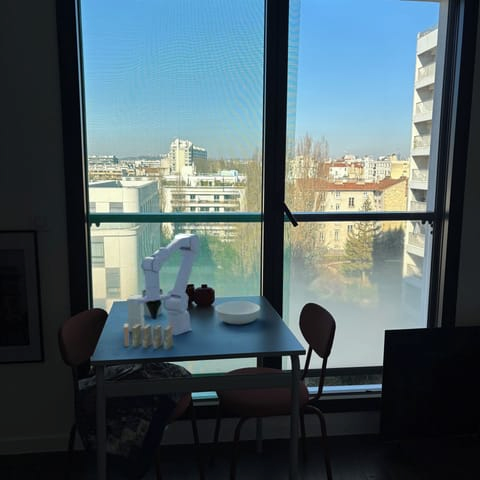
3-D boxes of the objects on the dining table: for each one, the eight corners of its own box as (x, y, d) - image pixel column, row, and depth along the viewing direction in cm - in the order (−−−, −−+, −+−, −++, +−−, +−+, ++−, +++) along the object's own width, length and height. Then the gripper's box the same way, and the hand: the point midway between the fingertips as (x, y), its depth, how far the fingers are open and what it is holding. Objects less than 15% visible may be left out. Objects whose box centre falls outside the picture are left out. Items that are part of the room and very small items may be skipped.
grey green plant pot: (139, 314, 231) (138, 290, 229) (156, 309, 238) (155, 287, 236) (150, 318, 224) (149, 294, 222) (167, 313, 231) (166, 290, 229)
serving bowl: (219, 330, 204) (219, 315, 203) (212, 316, 224) (212, 303, 224) (265, 326, 208) (265, 311, 207) (254, 313, 229) (254, 300, 228)
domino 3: (162, 344, 188) (161, 325, 187) (157, 348, 184) (156, 329, 183) (158, 344, 189) (157, 325, 188) (153, 348, 184) (152, 329, 183)
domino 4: (172, 344, 187) (171, 325, 186) (168, 349, 183) (167, 329, 182) (168, 344, 188) (168, 325, 187) (164, 349, 183) (163, 329, 182)
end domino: (129, 341, 192) (128, 323, 191) (128, 346, 187) (127, 327, 186) (125, 342, 191) (124, 323, 190) (124, 346, 187) (123, 327, 186)
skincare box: (141, 331, 204) (140, 298, 202) (128, 332, 204) (126, 299, 202) (144, 325, 213) (143, 294, 211) (131, 326, 212) (130, 294, 210)
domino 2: (151, 343, 189) (151, 324, 188) (146, 347, 185) (146, 328, 184) (148, 343, 190) (147, 324, 189) (143, 347, 185) (142, 328, 184)
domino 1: (141, 342, 190) (140, 324, 189) (136, 347, 186) (135, 328, 185) (138, 342, 191) (137, 323, 190) (132, 346, 186) (131, 327, 185)
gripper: (165, 282, 195) (167, 313, 197) (132, 286, 188) (133, 319, 190) (172, 285, 189) (173, 317, 191) (137, 290, 182) (138, 323, 184)
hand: (153, 318), depth 190 cm, fingers closed
